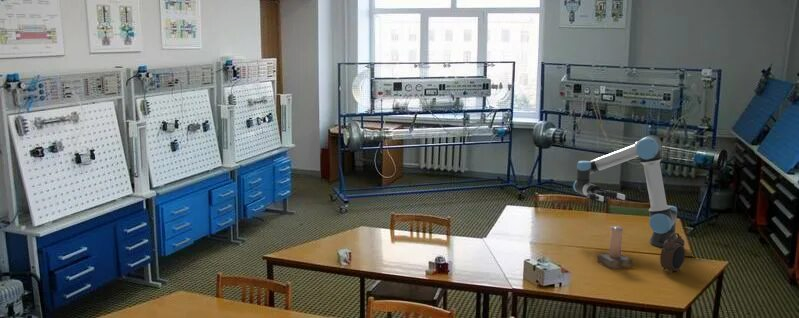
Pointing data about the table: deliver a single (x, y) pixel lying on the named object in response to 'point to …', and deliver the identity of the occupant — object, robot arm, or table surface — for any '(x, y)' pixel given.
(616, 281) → the table surface
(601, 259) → the base stand
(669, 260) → the alarm clock
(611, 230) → the canister
